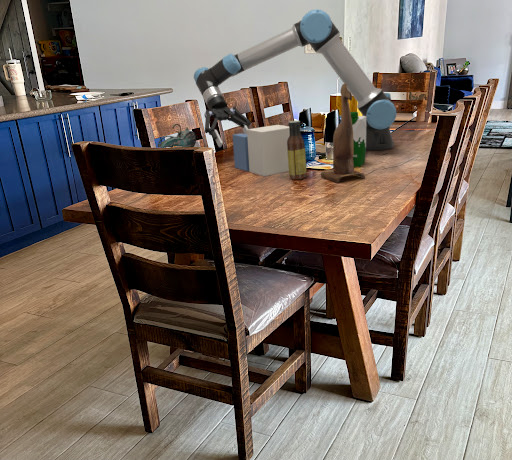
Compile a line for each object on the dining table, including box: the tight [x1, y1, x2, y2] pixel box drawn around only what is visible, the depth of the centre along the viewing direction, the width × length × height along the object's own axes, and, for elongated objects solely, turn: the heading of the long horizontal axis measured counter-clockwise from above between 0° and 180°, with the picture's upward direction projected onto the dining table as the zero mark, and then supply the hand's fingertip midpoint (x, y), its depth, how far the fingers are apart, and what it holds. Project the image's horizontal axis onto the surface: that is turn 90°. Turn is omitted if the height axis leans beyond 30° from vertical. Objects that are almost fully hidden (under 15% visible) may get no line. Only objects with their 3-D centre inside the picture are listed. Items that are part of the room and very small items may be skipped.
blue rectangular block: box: [232, 133, 250, 172], centre depth 198 cm, size 9×4×13 cm, turn 33°
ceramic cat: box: [157, 123, 197, 148], centre depth 186 cm, size 20×6×20 cm, turn 145°
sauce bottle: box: [287, 120, 308, 180], centre depth 177 cm, size 7×6×20 cm
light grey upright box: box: [247, 124, 290, 177], centre depth 196 cm, size 22×16×16 cm
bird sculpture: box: [320, 83, 366, 184], centre depth 171 cm, size 11×12×32 cm
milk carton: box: [350, 111, 367, 168], centre depth 191 cm, size 9×9×20 cm
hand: (236, 142), depth 200 cm, fingers open, 13 cm apart
